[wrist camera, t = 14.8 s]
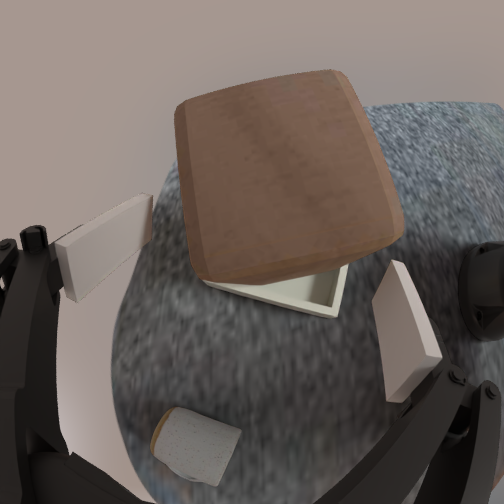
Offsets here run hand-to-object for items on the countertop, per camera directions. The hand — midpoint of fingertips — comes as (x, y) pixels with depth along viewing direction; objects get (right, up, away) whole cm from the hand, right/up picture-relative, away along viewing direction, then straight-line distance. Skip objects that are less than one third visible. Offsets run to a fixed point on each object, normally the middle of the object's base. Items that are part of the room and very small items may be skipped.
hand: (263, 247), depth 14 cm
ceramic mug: (-7, -23, +13) cm, 27 cm away
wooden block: (+4, +2, +17) cm, 18 cm away
